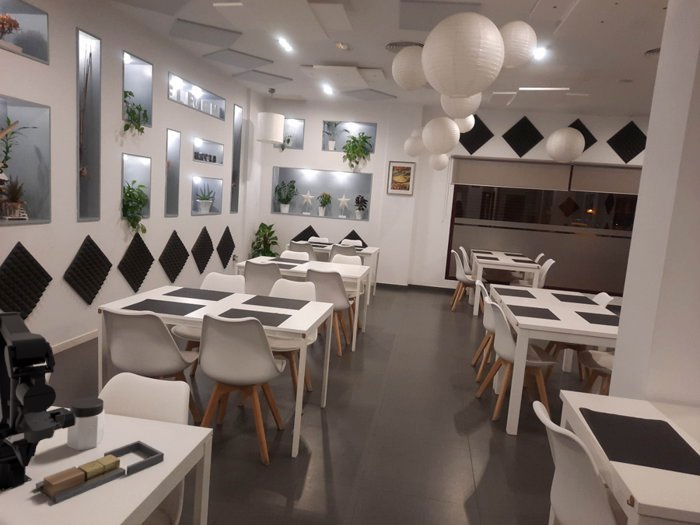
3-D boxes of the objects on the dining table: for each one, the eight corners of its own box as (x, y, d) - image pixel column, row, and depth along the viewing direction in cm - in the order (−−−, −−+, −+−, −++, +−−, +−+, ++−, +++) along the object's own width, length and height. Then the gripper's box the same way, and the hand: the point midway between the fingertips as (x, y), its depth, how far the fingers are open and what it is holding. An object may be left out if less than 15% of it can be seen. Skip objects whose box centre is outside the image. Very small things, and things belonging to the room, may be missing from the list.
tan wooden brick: (43, 491, 114) (43, 477, 114) (74, 479, 120) (74, 466, 120) (53, 498, 112) (53, 484, 111) (84, 485, 118) (84, 472, 117)
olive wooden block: (77, 478, 121) (78, 466, 120) (94, 471, 124) (94, 460, 124) (87, 484, 118) (87, 472, 118) (103, 477, 122) (103, 465, 121)
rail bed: (35, 490, 115) (36, 483, 115) (104, 464, 129) (104, 457, 129) (55, 505, 110) (56, 498, 110) (125, 476, 124) (125, 469, 124)
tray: (103, 462, 130) (104, 453, 129) (138, 449, 138) (139, 440, 138) (128, 477, 124) (128, 467, 123) (163, 462, 132) (163, 453, 132)
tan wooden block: (94, 471, 124) (95, 459, 124) (110, 465, 127) (110, 454, 127) (104, 477, 122) (104, 465, 122) (119, 470, 125) (119, 459, 125)
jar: (68, 454, 132) (69, 410, 131) (65, 441, 139) (67, 399, 138) (105, 447, 137) (107, 405, 136) (101, 435, 144) (103, 395, 143)
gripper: (-7, 420, 94) (-9, 498, 96) (90, 395, 110) (87, 463, 111) (-32, 404, 100) (-33, 477, 102) (64, 382, 116) (61, 446, 118)
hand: (24, 466), depth 108 cm, fingers closed
